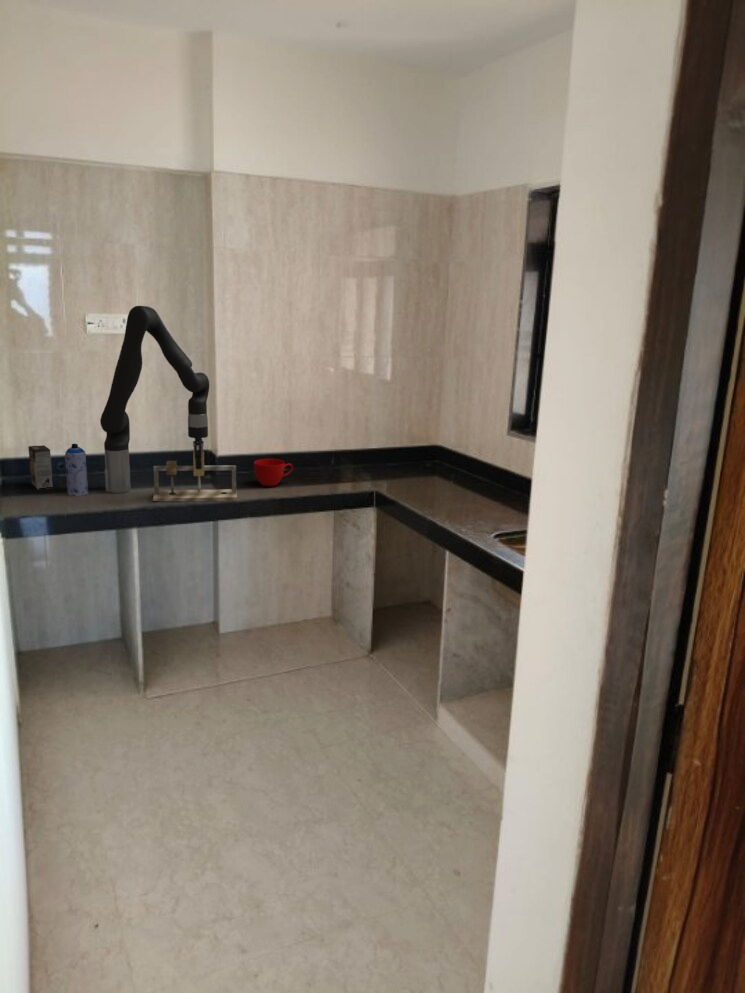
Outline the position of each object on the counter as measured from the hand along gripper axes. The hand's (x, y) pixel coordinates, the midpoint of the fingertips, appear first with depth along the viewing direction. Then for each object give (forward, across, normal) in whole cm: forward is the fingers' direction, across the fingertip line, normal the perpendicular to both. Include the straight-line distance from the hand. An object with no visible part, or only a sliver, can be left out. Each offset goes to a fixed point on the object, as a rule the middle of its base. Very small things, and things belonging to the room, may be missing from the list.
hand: (198, 467), depth 295 cm
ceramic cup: (+13, -19, +31) cm, 38 cm away
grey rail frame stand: (+12, 0, -1) cm, 12 cm away
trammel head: (+10, 0, 0) cm, 10 cm away
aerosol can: (+13, -8, -47) cm, 50 cm away
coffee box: (+13, -20, -63) cm, 68 cm away
